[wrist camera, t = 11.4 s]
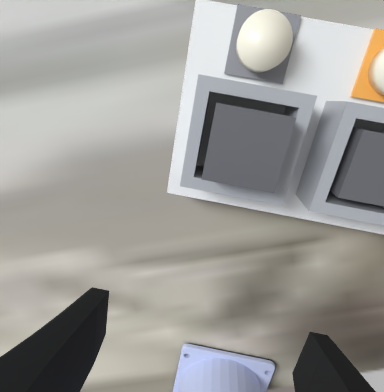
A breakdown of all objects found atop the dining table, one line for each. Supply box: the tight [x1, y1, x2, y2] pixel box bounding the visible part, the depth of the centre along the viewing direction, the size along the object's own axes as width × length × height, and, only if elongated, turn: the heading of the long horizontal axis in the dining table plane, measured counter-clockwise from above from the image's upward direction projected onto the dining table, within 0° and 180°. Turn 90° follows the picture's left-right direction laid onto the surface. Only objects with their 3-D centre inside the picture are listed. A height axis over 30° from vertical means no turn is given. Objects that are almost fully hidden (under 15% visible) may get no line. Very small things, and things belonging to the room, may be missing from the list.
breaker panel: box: [167, 0, 384, 235], centre depth 15 cm, size 10×22×5 cm, turn 80°
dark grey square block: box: [330, 127, 384, 206], centre depth 14 cm, size 3×3×2 cm
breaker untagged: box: [201, 102, 296, 193], centre depth 12 cm, size 3×3×2 cm
